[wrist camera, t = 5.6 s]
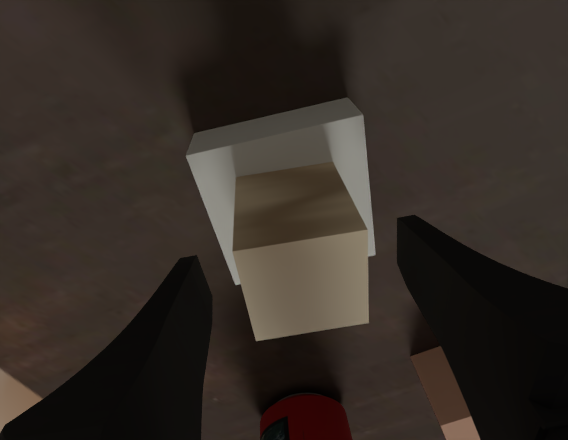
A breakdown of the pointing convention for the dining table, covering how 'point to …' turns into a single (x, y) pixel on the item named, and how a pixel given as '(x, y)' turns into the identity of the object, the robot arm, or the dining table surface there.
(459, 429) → the terracotta block
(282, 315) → the maple block
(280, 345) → the dining table surface
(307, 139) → the grey slab
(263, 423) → the beverage can
